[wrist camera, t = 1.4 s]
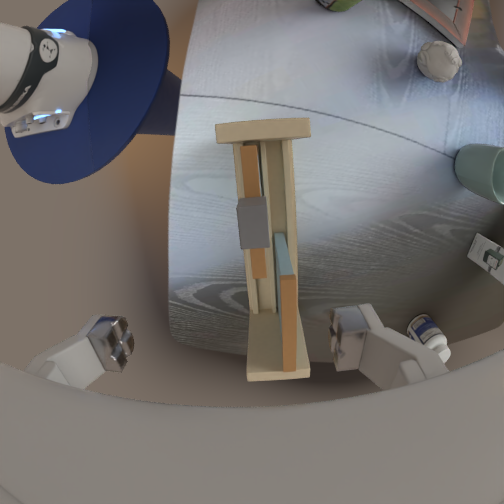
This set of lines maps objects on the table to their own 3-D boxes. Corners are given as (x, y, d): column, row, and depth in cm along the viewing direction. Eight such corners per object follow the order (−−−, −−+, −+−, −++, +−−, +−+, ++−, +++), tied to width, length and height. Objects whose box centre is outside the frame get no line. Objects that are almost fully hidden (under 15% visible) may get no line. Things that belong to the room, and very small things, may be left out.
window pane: (251, 232, 35) (246, 298, 20) (243, 146, 30) (230, 147, 16) (267, 231, 34) (273, 296, 20) (260, 144, 30) (262, 144, 16)
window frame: (251, 312, 41) (247, 382, 28) (232, 132, 31) (214, 124, 18) (296, 309, 41) (310, 378, 28) (289, 128, 31) (310, 117, 18)
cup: (442, 176, 32) (485, 189, 23) (455, 132, 29) (499, 136, 20) (470, 197, 33) (510, 214, 23) (483, 156, 30) (524, 166, 20)
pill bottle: (423, 335, 43) (445, 367, 34) (402, 337, 43) (423, 372, 34) (433, 312, 41) (458, 344, 32) (411, 313, 41) (436, 348, 32)
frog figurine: (447, 71, 25) (474, 64, 19) (427, 93, 27) (455, 88, 21) (421, 40, 24) (446, 28, 17) (400, 61, 26) (425, 50, 19)
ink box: (497, 244, 35) (535, 271, 25) (487, 267, 37) (523, 296, 26) (476, 231, 35) (519, 258, 24) (465, 256, 37) (506, 288, 26)
